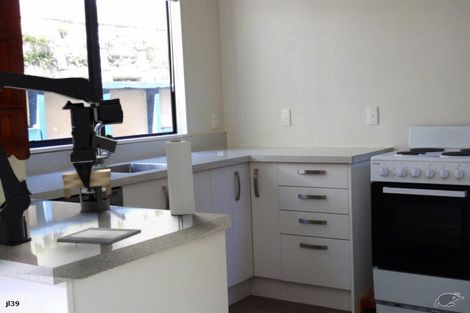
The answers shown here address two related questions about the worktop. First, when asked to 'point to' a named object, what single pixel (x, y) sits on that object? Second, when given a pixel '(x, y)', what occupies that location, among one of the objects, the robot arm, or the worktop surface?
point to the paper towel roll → (180, 177)
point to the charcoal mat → (99, 235)
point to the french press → (99, 201)
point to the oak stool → (95, 180)
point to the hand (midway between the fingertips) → (87, 186)
